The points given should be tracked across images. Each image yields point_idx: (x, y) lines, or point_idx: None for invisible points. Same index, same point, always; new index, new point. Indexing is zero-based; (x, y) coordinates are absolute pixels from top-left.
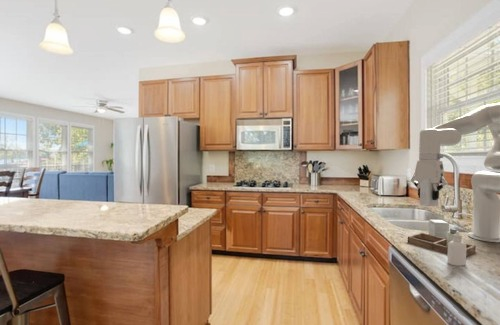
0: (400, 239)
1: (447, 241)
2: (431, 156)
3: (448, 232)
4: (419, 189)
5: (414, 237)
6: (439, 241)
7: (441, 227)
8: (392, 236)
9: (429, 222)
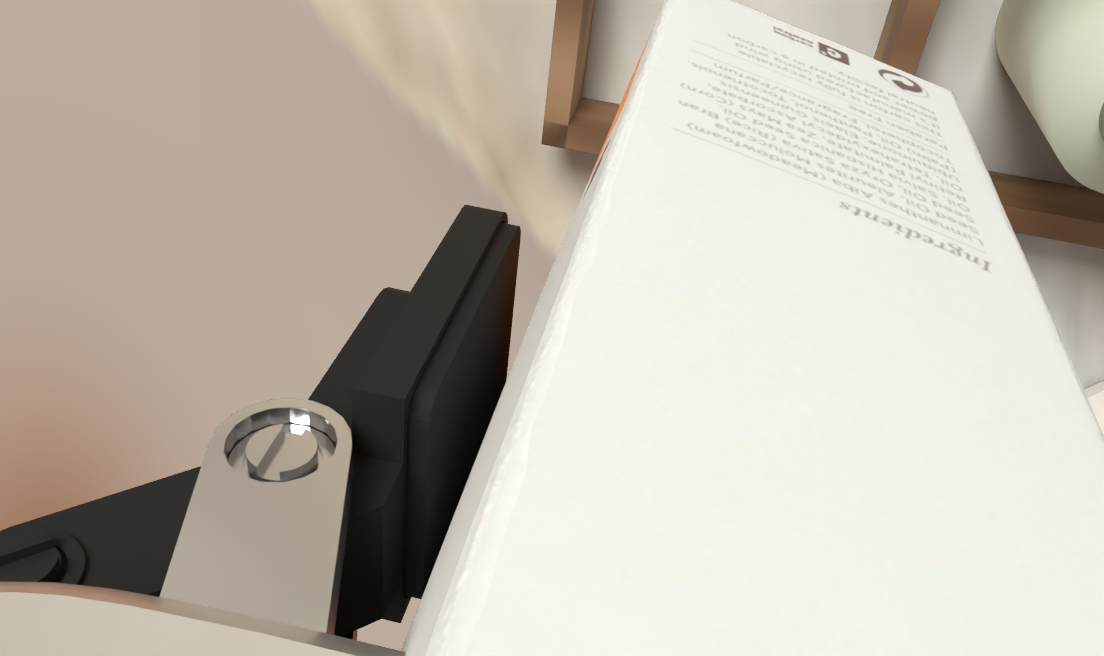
0: (452, 65)
1: (1031, 113)
2: None
3: (1075, 122)
4: (387, 608)
5: (585, 15)
6: (916, 40)
7: None
8: (330, 14)
9: None
